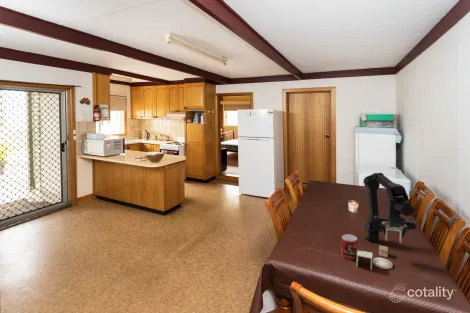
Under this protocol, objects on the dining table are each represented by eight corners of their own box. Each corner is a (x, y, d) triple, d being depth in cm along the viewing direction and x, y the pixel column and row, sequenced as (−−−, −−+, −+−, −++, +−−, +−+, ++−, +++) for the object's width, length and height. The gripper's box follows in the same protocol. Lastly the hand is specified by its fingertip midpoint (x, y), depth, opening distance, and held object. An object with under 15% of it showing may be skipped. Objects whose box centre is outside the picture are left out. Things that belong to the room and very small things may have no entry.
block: (378, 252, 149) (379, 245, 148) (387, 253, 147) (387, 247, 146) (378, 255, 145) (379, 248, 145) (387, 257, 143) (387, 250, 143)
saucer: (368, 260, 141) (369, 258, 140) (383, 258, 142) (383, 256, 142) (381, 270, 132) (381, 268, 132) (396, 267, 134) (397, 265, 133)
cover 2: (385, 236, 145) (386, 224, 144) (400, 238, 141) (401, 227, 140) (385, 240, 140) (386, 228, 139) (401, 243, 137) (401, 231, 136)
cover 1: (356, 261, 140) (357, 249, 139) (371, 264, 137) (372, 252, 136) (356, 266, 135) (356, 254, 134) (371, 270, 132) (372, 258, 131)
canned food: (341, 258, 143) (342, 239, 142) (341, 251, 151) (341, 233, 149) (356, 261, 140) (357, 241, 139) (356, 253, 148) (356, 235, 146)
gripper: (374, 211, 136) (372, 239, 138) (418, 217, 127) (415, 247, 129) (375, 204, 146) (373, 231, 148) (415, 209, 136) (413, 238, 139)
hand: (393, 237), depth 141 cm, fingers closed on cover 2, 7 cm apart
